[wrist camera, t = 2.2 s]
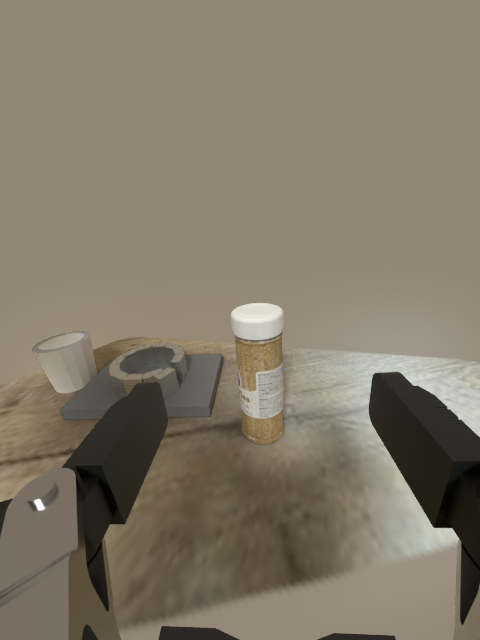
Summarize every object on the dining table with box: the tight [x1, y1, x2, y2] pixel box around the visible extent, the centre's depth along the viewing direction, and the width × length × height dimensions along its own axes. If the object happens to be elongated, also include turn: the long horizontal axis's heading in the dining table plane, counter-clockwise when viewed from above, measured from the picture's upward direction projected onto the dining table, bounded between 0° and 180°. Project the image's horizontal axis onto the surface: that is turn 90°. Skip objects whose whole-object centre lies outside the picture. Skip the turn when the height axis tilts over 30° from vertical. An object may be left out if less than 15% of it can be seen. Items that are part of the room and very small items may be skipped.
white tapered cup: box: [33, 331, 98, 393], centre depth 36 cm, size 7×7×7 cm
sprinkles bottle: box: [231, 303, 284, 444], centre depth 24 cm, size 5×5×13 cm
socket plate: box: [60, 354, 223, 420], centre depth 34 cm, size 18×12×2 cm, turn 87°
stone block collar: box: [109, 343, 188, 400], centre depth 33 cm, size 9×10×3 cm
